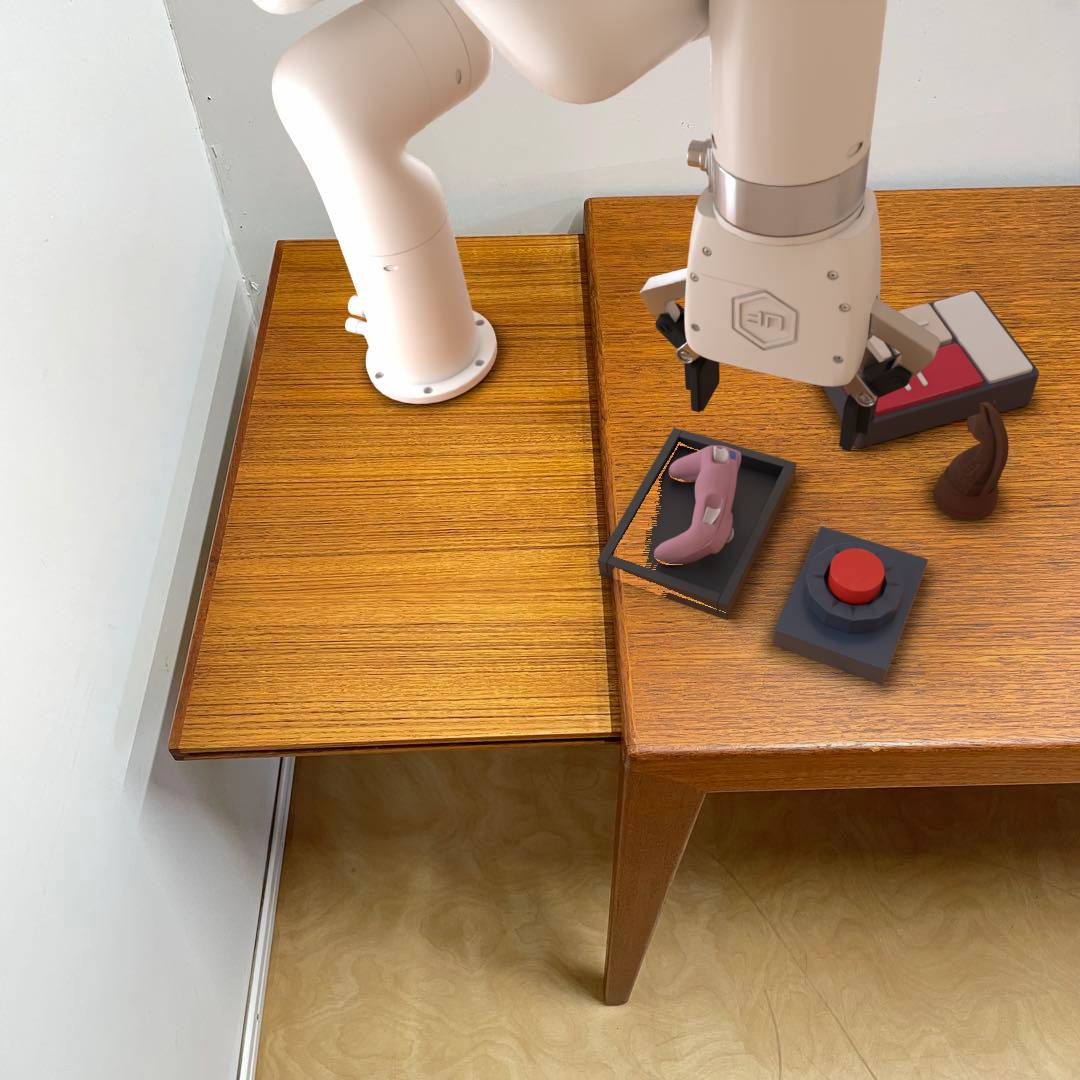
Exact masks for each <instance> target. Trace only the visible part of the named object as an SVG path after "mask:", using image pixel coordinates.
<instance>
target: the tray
mask: <svg viewBox="0 0 1080 1080" xmlns="http://www.w3.org/2000/svg"><path fill="white" fill-rule="evenodd" d="M678 442H681V443H683V444H685V445H687V446H689V447H692V448H694V449H698V450H702V449H704V448H705V447H708V446H711V445H713V446H726V447H728V448H731V449H734V450H737V451H740V453H741V463H740V467H739V470H738V472H737V481H736V489H735V495H734V500H733V504H732V508H731V512H732V515H733V522H732V527H731V528H733V530H734V535H733V538H732V540H731V541H729V542H728V543H725V544H724V546H723V548H722V549H721V550H720V551H719V552H718V553H716V554H712V553H711V554H709V555H707V556H705V557H703V558H701V559H699V560H697V561H694V562H691V563H688V564H683V565H665V564H661V563H660V562H658V561H657V560H656V559H655V557H654V551H655V549H656V548H657V547H658V546H659V545H660V544H661V543H663V542H665V541H667V540H670V539H672V538H674V537H677V536H678V535H680V534H682V533H684V532H686V531H687V530H688V529H689V528H690V527H691V525H692V520H693V514H694V509H695V504H696V499H695V484H696V482H679V481H676V480H674V479H673V478H671V477H670V475H669V468H670V466H671V464H672V463H674V462H675V461H676V460H678V459H680V458H682V457H684V456H687V455H690V454H692V453H695V452H698V451H697V450H694V449H690V448H687V447H684V446H680V445H679V446H678V448H677V450H676V451H675V453H674V455H673V457H672V458H671V460H670V462H669V464H668V465H667V467H666V469H665V471H664V472H663V474H662V476H661V478H662V479H659V481H662V482H659V483H660V484H661V485H660V486H658V487H661V489H658V490H662V491H657V492H660V494H658V495H662V496H659V498H660V499H659V501H660V502H658V503H660V504H659V505H656V506H661V507H656V508H661V509H656V510H655V511H659V512H656V513H660V514H657V515H655V516H657V517H651V518H657V519H652V520H656V521H657V522H652V523H657V524H652V525H657V526H652V527H653V528H652V529H650V530H652V531H646V532H652V533H646V534H652V535H646V536H650V537H646V538H647V539H646V540H645V541H651V542H645V543H652V544H645V545H649V546H650V547H649V546H646V547H647V548H650V549H645V550H650V551H643V552H649V553H643V554H649V555H642V556H648V558H649V559H647V562H646V563H652V564H646V565H651V566H645V567H643V566H640V565H637V564H635V563H632V562H629V561H626V560H623V559H620V558H617V557H614V556H613V554H614V551H615V549H616V547H617V545H618V543H619V542H620V540H621V539H622V537H623V535H624V534H625V532H626V530H627V529H628V527H629V525H630V523H631V522H632V520H633V518H634V517H635V515H636V513H637V511H638V509H639V508H640V506H641V504H642V502H643V501H644V499H645V497H646V495H647V494H648V493H649V491H650V489H651V487H652V485H653V484H654V483H655V481H656V479H657V478H658V476H659V474H660V473H661V471H662V470H663V468H664V466H665V464H666V463H667V461H668V460H669V458H670V456H671V455H672V453H673V452H674V450H675V448H676V446H677V444H678ZM796 472H797V462H795V461H792V460H788V459H785V458H782V457H778V456H775V455H771V454H769V453H764V452H760V451H757V450H754V449H750V448H747V447H742V446H741V445H736V444H733V443H729V442H726V441H722V440H718V439H715V438H712V437H709V436H705V435H703V434H698V433H695V432H692V431H689V430H684V429H681V428H677V427H673V428H672V430H671V432H670V433H669V435H668V437H667V439H666V440H665V442H664V444H663V445H662V447H661V449H660V451H659V452H658V454H657V456H656V458H655V459H654V461H653V463H652V465H651V466H650V468H649V470H648V471H647V473H646V475H645V476H644V479H643V480H642V482H641V483H640V485H639V486H638V488H637V490H636V492H635V494H634V495H633V497H632V499H631V501H630V502H629V504H628V506H627V508H626V509H625V511H624V513H623V514H622V516H621V518H620V520H619V522H618V523H617V525H618V526H617V525H616V526H615V528H614V530H613V532H612V534H611V536H610V537H609V539H608V540H607V542H606V544H605V546H604V547H603V549H602V551H601V552H600V553H599V556H598V558H597V565H598V573H599V575H600V576H602V577H606V578H607V579H611V580H614V579H613V573H612V570H613V569H614V568H615V567H616V568H617V567H618V568H619V569H622V570H623V571H625V572H628V573H630V574H633V575H635V576H637V577H640V578H642V579H646V580H647V581H649V582H653V583H656V584H658V585H660V586H663V587H665V588H667V589H669V590H673V591H675V592H678V593H679V594H682V595H684V596H686V597H690V598H692V599H694V600H697V601H700V602H702V603H704V604H706V605H708V606H711V607H713V608H716V609H717V610H716V609H713V608H710V607H708V606H705V605H702V604H699V603H696V602H694V601H691V600H688V599H685V598H682V597H679V596H677V595H674V594H671V593H662V594H667V595H661V596H666V597H663V598H664V599H665V600H666V599H667V600H669V601H672V602H675V603H678V604H680V605H682V606H686V607H689V608H692V609H694V610H697V611H699V612H703V613H705V614H708V615H711V616H713V617H717V618H718V619H719V618H720V619H721V620H725V621H728V620H729V618H730V616H731V614H732V612H733V610H734V608H735V606H736V603H737V601H738V600H739V598H740V595H741V593H742V590H743V589H744V587H745V585H746V582H747V580H748V578H749V576H750V574H751V572H752V570H753V568H754V566H755V564H756V562H757V560H758V557H759V556H760V554H761V551H762V549H763V547H764V545H765V543H766V541H767V538H768V536H769V534H770V533H771V530H772V528H773V526H774V523H775V522H776V520H777V517H778V516H779V513H780V512H781V509H782V507H783V505H784V503H785V501H786V499H787V497H788V494H789V493H790V490H791V489H792V486H793V485H794V482H795V480H796ZM655 503H656V502H655ZM648 525H649V524H648ZM648 539H651V540H648ZM652 561H653V562H652ZM657 563H658V564H657ZM654 565H657V566H654ZM646 567H651V568H646ZM653 567H656V568H653ZM652 569H656V570H652ZM658 590H659V589H658ZM663 592H665V591H663ZM661 596H660V597H661ZM719 610H721V611H719ZM722 611H724V612H726V613H724V612H722Z"/></svg>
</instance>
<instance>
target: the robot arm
mask: <svg viewBox="0 0 1080 1080" xmlns="http://www.w3.org/2000/svg"><path fill="white" fill-rule="evenodd" d="M251 1H252V2H253V3H254V4H255V5H256V6H258V7H259V8H260V9H261V10H263V11H264V12H267V13H269V14H272V15H281V16H282V15H283V16H285V15H291V14H295V13H299V12H302V11H304V10H307V9H309V8H311V7H314V6H316V5H318V4H320V3H322V2H324V1H325V0H251ZM888 3H889V0H361V1H360V2H358V3H355V4H353V5H351V6H349V7H347V8H346V9H344V10H343V11H341V12H339V13H338V14H335V15H334V16H332V17H330V18H329V19H327V20H325V21H324V22H322V23H321V24H319V25H317V26H316V27H314V28H313V29H311V30H309V31H308V32H307V33H305V34H304V35H302V36H301V37H300V38H298V40H296V41H295V42H294V43H292V45H291V46H289V48H287V50H286V51H285V52H284V53H283V55H282V56H281V57H280V58H279V60H278V62H277V64H276V66H275V68H274V71H273V74H272V79H271V96H272V100H273V103H274V107H275V110H276V112H277V115H278V117H279V119H280V121H281V123H282V125H283V127H284V129H285V131H286V132H287V134H288V136H289V137H290V139H291V141H292V143H293V144H294V146H295V148H296V149H297V151H298V153H299V155H300V156H301V158H302V160H303V161H304V164H305V165H306V167H307V169H308V171H309V173H310V175H311V177H312V179H313V181H314V183H315V185H316V187H317V190H318V192H319V194H320V196H321V199H322V201H323V204H324V206H325V210H326V212H327V214H328V216H329V220H330V222H331V225H332V227H333V231H334V233H335V234H334V235H335V236H336V239H337V241H338V243H339V246H340V247H339V248H340V249H341V253H342V255H343V258H344V260H345V263H346V266H347V269H348V272H349V275H350V277H351V280H352V283H353V286H354V288H355V292H356V294H354V295H352V296H351V297H350V298H349V300H348V302H347V303H348V305H347V309H348V312H349V314H350V315H353V316H356V317H359V318H362V319H359V318H356V317H352V316H351V317H348V318H347V319H346V321H345V323H344V324H345V325H344V327H345V328H344V329H345V330H346V332H349V333H353V334H356V335H363V336H364V338H365V340H366V343H367V346H368V348H367V350H366V354H365V367H366V371H367V374H368V376H369V379H370V381H371V383H372V385H373V386H374V387H375V389H377V390H378V391H379V392H380V393H381V394H382V395H384V396H386V397H387V398H390V399H391V400H395V401H398V402H401V403H407V404H413V405H423V404H424V405H427V404H433V403H434V404H435V403H440V402H444V401H447V400H450V399H454V398H455V397H458V396H460V395H462V394H464V393H466V392H467V391H469V390H471V389H472V388H474V387H475V386H477V385H478V384H479V383H480V382H481V381H482V380H483V379H484V378H485V377H486V376H487V375H488V373H489V372H490V371H491V370H492V368H493V366H494V364H495V362H496V359H497V355H498V341H497V337H496V333H495V330H494V328H493V326H492V324H491V323H490V322H489V320H488V319H487V318H486V317H484V316H483V315H482V314H480V313H479V312H478V311H476V310H473V307H472V306H473V305H472V302H471V298H470V295H469V289H468V286H467V282H466V277H465V274H464V273H465V272H464V269H463V265H462V261H461V257H460V253H459V249H458V245H457V240H456V237H455V233H454V229H453V225H452V219H451V216H450V211H449V208H448V205H447V202H446V197H445V193H444V190H443V187H442V185H441V182H440V180H439V178H438V177H437V175H436V174H435V173H434V171H433V169H431V168H430V167H429V166H428V165H427V164H426V163H424V162H423V161H422V160H420V159H419V158H417V157H415V156H413V155H411V154H409V153H407V149H406V148H407V144H408V143H409V141H411V139H412V138H413V137H414V136H416V135H417V134H419V133H420V132H421V131H423V130H425V128H426V127H427V126H429V125H430V124H431V123H433V122H435V120H437V119H439V118H440V117H441V116H443V115H444V114H446V113H447V112H449V111H450V110H452V109H453V108H455V107H456V106H458V105H459V104H461V103H463V102H464V101H465V100H466V99H468V98H470V97H471V96H473V94H474V93H476V92H477V91H478V90H479V89H481V87H482V86H483V85H484V84H485V82H486V81H487V79H488V77H489V76H490V73H491V70H492V66H493V62H494V61H493V60H494V48H495V50H496V51H497V52H498V53H499V54H500V55H501V57H502V58H504V60H505V61H506V62H507V63H508V64H509V65H510V66H511V67H513V69H514V70H515V71H516V72H517V73H518V74H519V75H521V77H522V78H524V79H525V80H526V81H528V83H530V84H531V85H532V86H534V87H535V88H536V89H538V90H539V91H540V92H542V93H544V94H546V95H547V96H549V97H551V98H553V99H554V100H555V99H556V100H557V101H560V102H563V103H568V104H571V105H572V104H573V105H579V106H580V105H582V106H583V105H590V104H591V105H592V104H595V103H600V102H604V101H606V100H608V99H611V98H613V97H615V96H617V95H618V94H619V93H621V92H622V91H624V90H625V89H627V88H628V87H630V86H632V85H633V84H635V83H636V82H637V81H639V80H641V78H643V77H644V76H646V75H647V74H648V73H650V72H651V71H653V70H654V69H655V68H657V67H658V66H660V65H661V64H662V63H663V62H665V61H666V60H668V59H669V58H670V57H672V56H673V55H674V54H676V53H677V52H679V51H680V50H682V49H683V48H684V47H686V46H687V45H689V44H690V43H693V42H695V41H696V42H697V41H699V40H701V39H704V38H707V37H709V63H710V64H709V71H710V73H709V74H710V78H709V79H710V120H711V121H710V122H711V123H710V125H711V131H710V132H711V138H709V137H707V138H706V139H699V138H698V139H697V138H693V139H691V141H690V143H689V145H688V147H687V154H686V163H687V166H688V167H693V168H699V169H700V171H702V172H705V173H706V175H707V178H708V186H707V187H706V188H705V189H704V190H703V191H702V192H701V194H700V195H699V197H698V199H697V202H696V206H695V209H694V215H693V220H692V226H691V232H690V237H689V238H690V239H689V248H688V256H687V263H686V265H687V266H686V268H682V269H678V270H673V271H669V272H666V273H663V274H658V275H654V276H651V277H649V278H648V279H647V280H646V282H645V284H644V285H643V287H642V288H641V289H640V291H639V297H640V299H641V301H642V302H643V304H644V306H645V307H646V309H647V310H648V312H649V314H650V315H651V317H654V320H655V325H654V326H655V328H656V330H657V331H658V332H659V333H660V334H661V335H662V336H663V337H664V338H665V339H666V340H667V341H668V342H669V343H670V344H671V345H672V346H673V347H674V348H675V349H676V350H675V357H676V359H677V360H678V361H679V362H681V363H682V364H683V366H684V367H683V368H684V382H685V383H684V384H685V385H684V386H685V390H687V391H689V392H690V393H689V394H690V410H691V411H693V412H696V413H701V412H704V411H705V409H706V407H707V406H708V404H709V402H710V400H711V398H712V397H713V395H714V393H715V391H716V390H717V388H718V386H719V385H720V381H721V379H720V377H721V376H720V373H721V372H720V363H721V364H724V365H725V364H726V365H730V366H733V367H737V368H741V369H745V370H749V371H753V372H757V373H761V374H765V375H770V376H775V377H778V378H784V379H788V380H791V381H792V380H793V381H796V382H801V383H804V384H805V383H806V384H810V385H816V386H821V387H822V386H830V387H834V386H842V385H843V386H844V387H845V389H846V390H847V391H848V392H849V396H848V398H847V400H846V402H845V405H844V410H843V418H842V421H841V428H840V434H839V442H838V447H839V448H841V450H843V451H846V452H851V451H852V449H853V448H854V446H855V444H854V443H855V441H856V438H857V436H858V434H859V433H861V434H865V435H868V434H869V432H870V430H871V427H872V425H873V422H874V419H875V414H876V408H877V402H878V398H880V397H882V396H884V395H887V394H889V393H892V392H894V391H896V390H899V389H901V388H903V387H905V386H907V385H908V383H909V381H910V380H911V379H912V378H913V377H914V376H915V375H917V374H918V373H920V372H921V371H922V370H923V369H924V368H925V367H926V366H927V365H928V364H929V363H931V362H932V361H933V359H934V357H935V355H936V353H937V350H938V348H939V345H940V340H939V338H938V337H937V336H935V335H934V334H932V333H931V332H929V331H928V330H926V329H924V328H923V327H921V326H920V325H918V324H917V323H915V322H914V321H912V320H910V319H909V318H907V317H906V316H904V315H903V314H901V313H900V312H898V311H899V310H897V309H895V308H894V307H891V305H888V304H887V303H885V302H884V301H883V300H881V287H882V286H881V285H882V284H881V283H882V241H881V239H882V238H881V226H880V224H881V223H880V216H879V207H878V202H877V196H876V193H875V191H874V190H873V189H871V188H869V187H867V181H868V171H869V164H870V155H871V146H872V135H873V128H874V119H875V111H876V101H877V95H878V87H879V79H880V71H881V63H882V55H883V47H884V46H883V45H884V37H885V29H886V20H887V10H888ZM681 299H684V307H683V306H681V305H680V304H679V303H678V302H676V300H677V301H678V300H681ZM363 318H364V319H365V320H366V321H364V320H363ZM873 335H874V336H875V337H877V338H879V339H880V340H882V341H883V342H885V343H886V344H888V345H889V346H891V347H893V348H894V349H896V350H897V351H899V352H900V353H899V354H897V355H895V356H893V357H891V358H889V359H886V360H884V359H883V357H882V356H881V355H880V354H879V352H878V351H877V350H876V349H875V347H874V346H873V345H872V343H871V342H870V341H869V339H870V338H872V336H873ZM859 367H861V368H862V369H863V371H861V370H860V369H859Z"/></svg>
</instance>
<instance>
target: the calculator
mask: <svg viewBox="0 0 1080 1080" xmlns="http://www.w3.org/2000/svg"><path fill="white" fill-rule="evenodd" d="M897 311H898V312H900V313H901V314H903V315H904V316H906V317H907V318H909V319H910V320H912V321H914V322H915V323H917V324H918V325H920V326H921V327H923V328H924V329H926V330H928V331H929V332H931V333H932V334H934V335H935V336H937V337H938V338H939V340H940V345H939V348H938V350H937V353H936V355H935V357H934V359H933V361H932V362H931V363H929V364H928V365H927V366H926V367H925V368H924V369H923V370H922V371H921V372H920V373H918V374H917V375H915V376H914V377H913V378H912V379H911V380H910V381H909V383H908V385H907V386H905V387H903V388H901V389H899V390H896V391H894V392H892V393H889V394H887V395H884V396H882V397H880V398H878V402H877V408H876V414H875V419H874V422H873V425H872V427H871V430H870V432H869V434H868V435H865V434H861V433H859V434H858V436H857V438H856V441H855V443H854V446H855V447H856V448H858V449H863V448H867V447H870V446H874V445H877V444H880V443H884V442H888V441H890V440H894V439H897V438H902V437H905V436H908V435H912V434H916V433H918V432H922V431H926V430H929V429H932V428H935V427H940V426H942V425H943V426H944V425H946V424H950V423H953V422H956V421H960V420H964V419H967V418H968V417H971V416H975V415H979V414H981V408H980V403H984V402H987V403H990V404H991V405H992V406H993V401H994V400H996V403H997V407H998V411H999V414H1000V413H1004V412H1007V411H1010V410H1014V409H1017V408H1021V407H1025V406H1027V405H1029V404H1030V403H1031V401H1032V398H1033V395H1034V391H1035V389H1036V386H1037V382H1038V379H1039V376H1040V370H1039V368H1038V367H1036V365H1035V364H1034V363H1033V361H1032V360H1031V359H1030V357H1029V356H1028V355H1027V353H1026V352H1025V350H1024V349H1023V348H1022V347H1021V345H1020V344H1019V343H1018V342H1017V341H1016V339H1015V338H1014V336H1013V335H1012V334H1011V333H1010V332H1009V330H1008V329H1007V328H1006V326H1005V325H1004V324H1003V322H1002V321H1001V320H1000V318H999V317H998V316H997V314H996V313H995V312H994V311H993V309H992V308H991V307H990V306H989V304H988V303H987V301H986V300H985V299H984V297H983V296H982V294H980V292H979V291H977V290H969V291H965V292H962V293H958V294H956V295H952V296H949V297H945V298H942V299H941V298H940V299H938V300H934V301H932V302H931V301H930V302H927V303H922V304H918V305H915V306H911V307H909V308H905V309H901V310H897ZM869 341H870V342H871V343H872V345H873V346H874V347H875V349H876V350H877V351H878V352H879V354H880V355H881V356H882V357H883V359H884V360H886V359H889V358H891V357H893V356H895V355H897V354H899V353H900V352H899V351H897V350H896V349H894V348H893V347H891V346H889V345H888V344H886V343H885V342H883V341H882V340H880V339H879V338H877V337H875V336H874V335H873V336H872V338H870V339H869ZM859 369H860V370H861V371H863V369H862V368H861V367H859ZM821 388H822V390H823V392H824V393H825V395H826V397H827V398H828V400H829V402H830V404H831V406H832V407H833V409H834V410H835V413H836V414H837V416H838V418H839V420H840V422H842V418H843V410H844V405H845V402H846V400H847V398H848V396H849V392H848V391H847V390H846V389H845V387H844V386H843V385H842V386H834V387H830V386H821Z"/></svg>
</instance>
